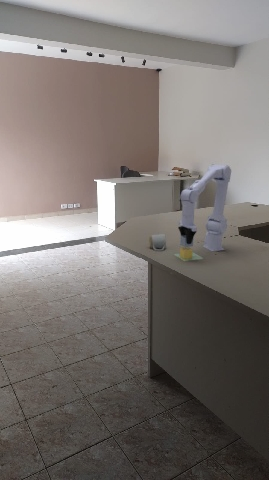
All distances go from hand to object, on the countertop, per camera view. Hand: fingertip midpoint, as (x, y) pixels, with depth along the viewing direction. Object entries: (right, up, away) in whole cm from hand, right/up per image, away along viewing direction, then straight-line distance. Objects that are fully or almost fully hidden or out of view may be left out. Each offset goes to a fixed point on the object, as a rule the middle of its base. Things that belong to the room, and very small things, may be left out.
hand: (186, 242), depth 178 cm
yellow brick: (0, -7, +2) cm, 8 cm away
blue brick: (0, -1, 0) cm, 2 cm away
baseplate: (+1, -7, +4) cm, 8 cm away
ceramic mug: (-13, -4, +17) cm, 21 cm away
